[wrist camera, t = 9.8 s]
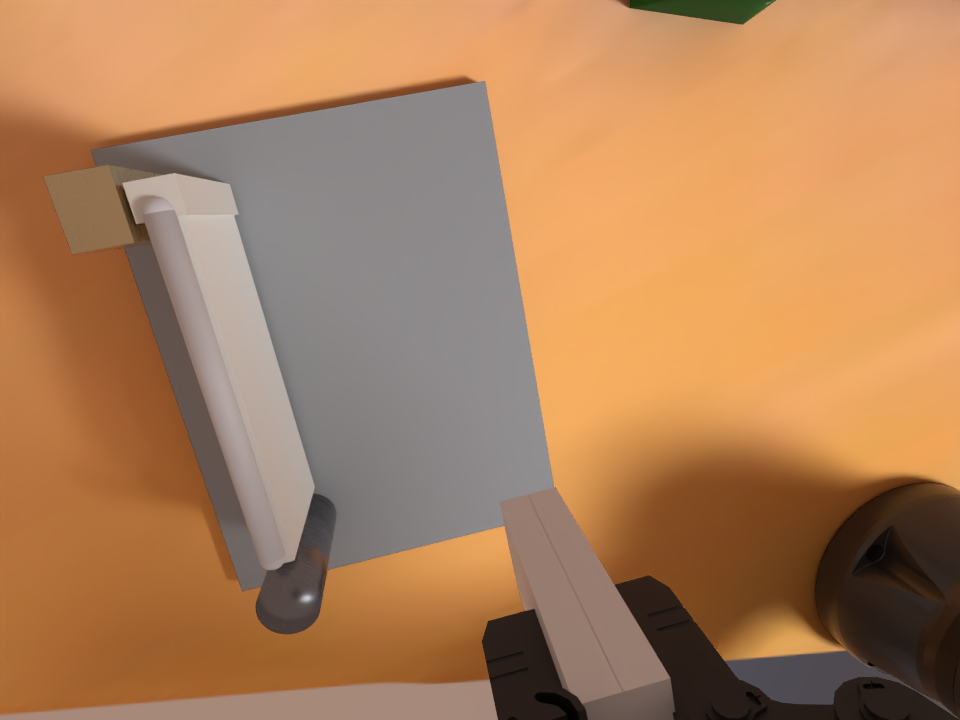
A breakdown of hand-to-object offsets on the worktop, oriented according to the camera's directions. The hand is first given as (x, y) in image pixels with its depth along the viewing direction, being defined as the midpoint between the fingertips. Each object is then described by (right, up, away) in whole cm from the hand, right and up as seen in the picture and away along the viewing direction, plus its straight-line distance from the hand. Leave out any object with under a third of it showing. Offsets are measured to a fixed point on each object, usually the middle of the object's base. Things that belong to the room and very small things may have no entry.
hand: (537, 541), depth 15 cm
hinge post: (-12, -5, +23) cm, 26 cm away
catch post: (-18, +13, +17) cm, 28 cm away
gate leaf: (-14, +5, +18) cm, 24 cm away
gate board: (-9, +5, +21) cm, 23 cm away
